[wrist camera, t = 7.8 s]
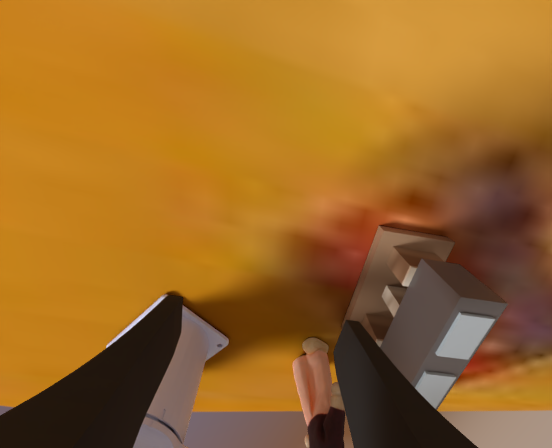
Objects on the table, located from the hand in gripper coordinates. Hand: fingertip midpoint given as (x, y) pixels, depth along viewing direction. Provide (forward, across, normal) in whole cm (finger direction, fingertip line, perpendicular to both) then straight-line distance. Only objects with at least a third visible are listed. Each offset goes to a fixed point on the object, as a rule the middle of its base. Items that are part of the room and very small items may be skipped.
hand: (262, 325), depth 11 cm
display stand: (+10, -12, +4) cm, 16 cm away
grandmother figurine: (+10, -7, +14) cm, 19 cm away
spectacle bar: (+6, -12, +4) cm, 14 cm away
